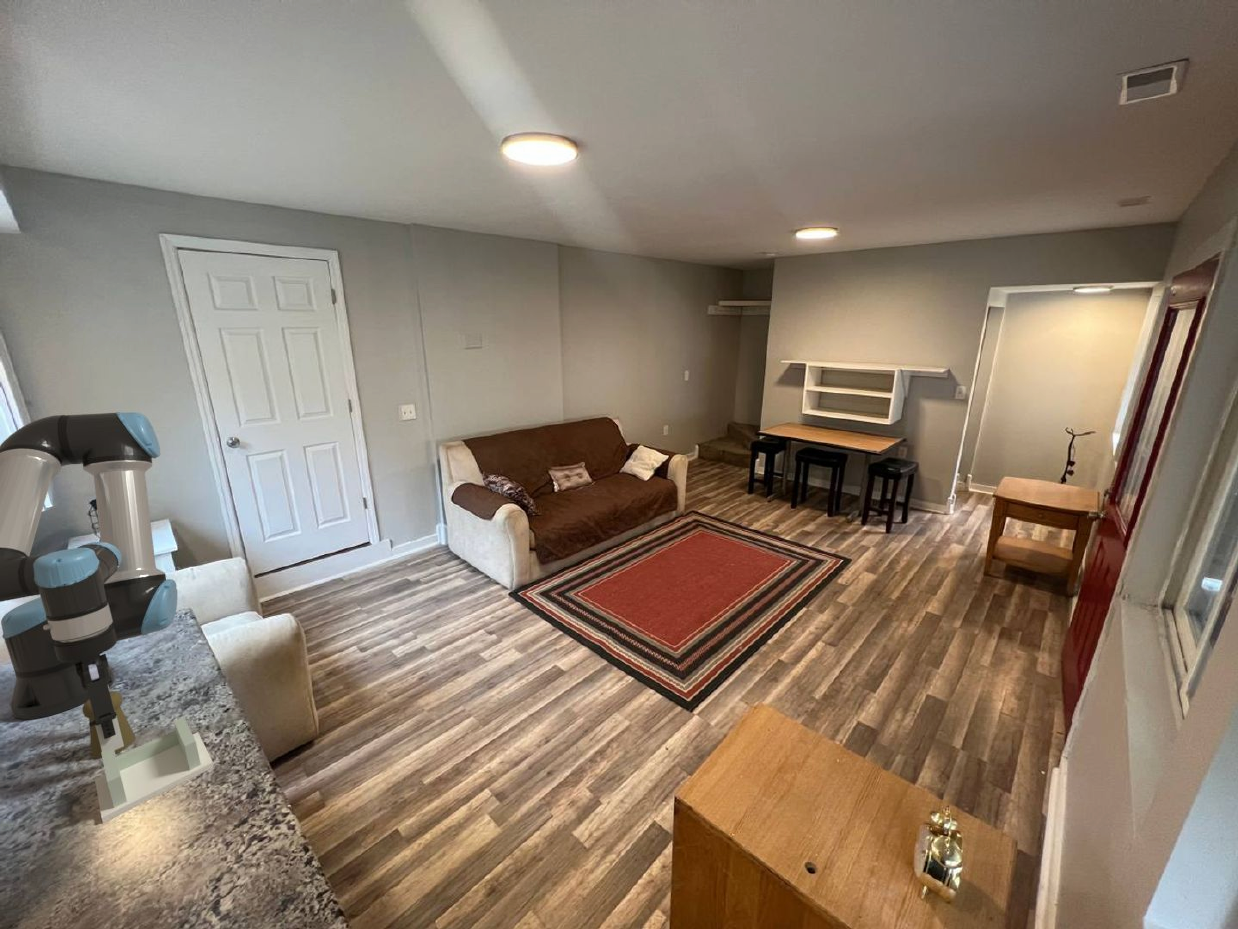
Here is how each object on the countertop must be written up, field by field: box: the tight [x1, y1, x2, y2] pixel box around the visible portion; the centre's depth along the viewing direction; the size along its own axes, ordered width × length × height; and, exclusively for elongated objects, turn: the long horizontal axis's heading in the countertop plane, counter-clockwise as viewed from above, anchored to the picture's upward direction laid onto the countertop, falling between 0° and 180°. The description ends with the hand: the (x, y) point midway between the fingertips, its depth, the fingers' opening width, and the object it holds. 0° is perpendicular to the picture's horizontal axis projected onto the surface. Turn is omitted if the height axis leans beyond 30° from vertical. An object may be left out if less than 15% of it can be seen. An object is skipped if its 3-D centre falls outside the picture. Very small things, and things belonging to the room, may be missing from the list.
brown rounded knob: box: [82, 690, 136, 760], centre depth 91 cm, size 6×6×11 cm
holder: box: [94, 716, 215, 824], centre depth 85 cm, size 12×14×6 cm
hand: (109, 733), depth 92 cm, fingers open, 13 cm apart
